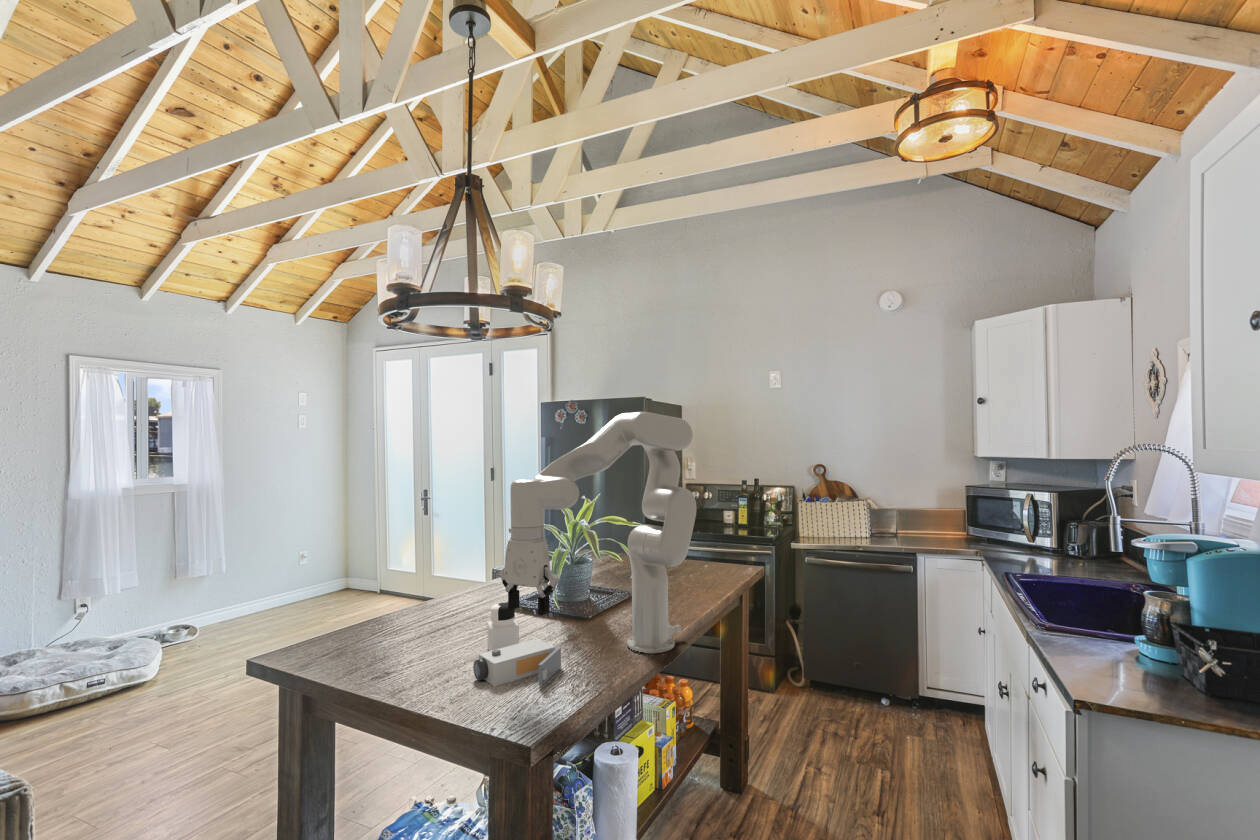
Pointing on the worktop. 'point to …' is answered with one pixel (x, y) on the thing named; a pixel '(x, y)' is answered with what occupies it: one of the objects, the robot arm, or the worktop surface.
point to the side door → (549, 666)
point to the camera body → (511, 662)
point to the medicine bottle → (502, 627)
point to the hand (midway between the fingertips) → (528, 611)
